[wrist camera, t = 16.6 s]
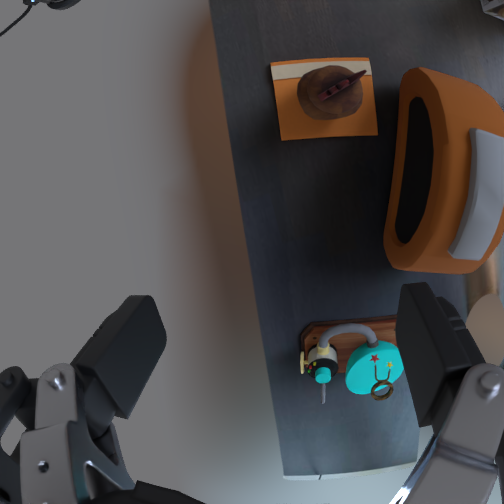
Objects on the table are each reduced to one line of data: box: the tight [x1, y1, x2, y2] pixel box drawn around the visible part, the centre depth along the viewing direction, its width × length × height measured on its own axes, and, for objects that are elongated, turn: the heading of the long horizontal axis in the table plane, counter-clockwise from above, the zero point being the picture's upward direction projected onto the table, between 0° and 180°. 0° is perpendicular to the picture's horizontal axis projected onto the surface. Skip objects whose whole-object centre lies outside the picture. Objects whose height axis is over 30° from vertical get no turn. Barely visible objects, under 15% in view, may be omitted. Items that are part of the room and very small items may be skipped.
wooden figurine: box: [297, 65, 367, 120], centre depth 25 cm, size 7×6×15 cm
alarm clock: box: [383, 67, 504, 274], centre depth 26 cm, size 23×9×17 cm, turn 179°
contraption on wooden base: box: [300, 315, 404, 404], centre depth 40 cm, size 14×18×15 cm
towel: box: [270, 58, 378, 141], centre depth 31 cm, size 12×10×1 cm
